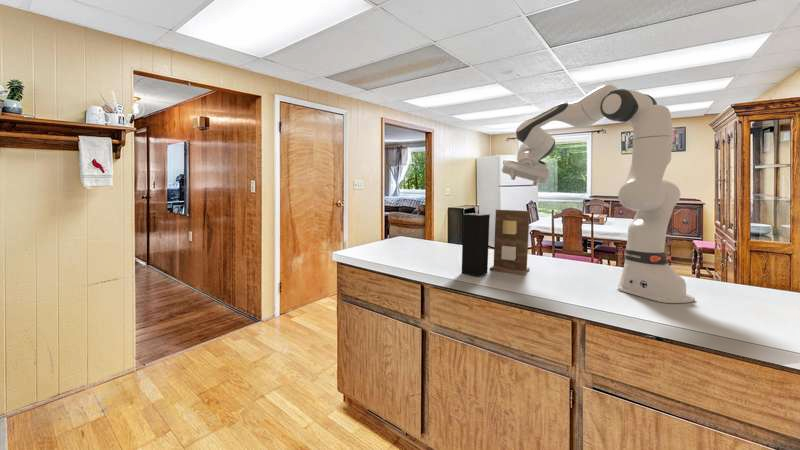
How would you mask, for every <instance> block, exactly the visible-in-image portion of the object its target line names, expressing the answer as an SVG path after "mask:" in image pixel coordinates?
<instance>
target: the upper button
mask: <svg viewBox="0 0 800 450" xmlns="http://www.w3.org/2000/svg"><path fill="white" fill-rule="evenodd" d="M502 233H503V234H514V235H516V233H517V221H509V220H503V231H502Z"/></svg>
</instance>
